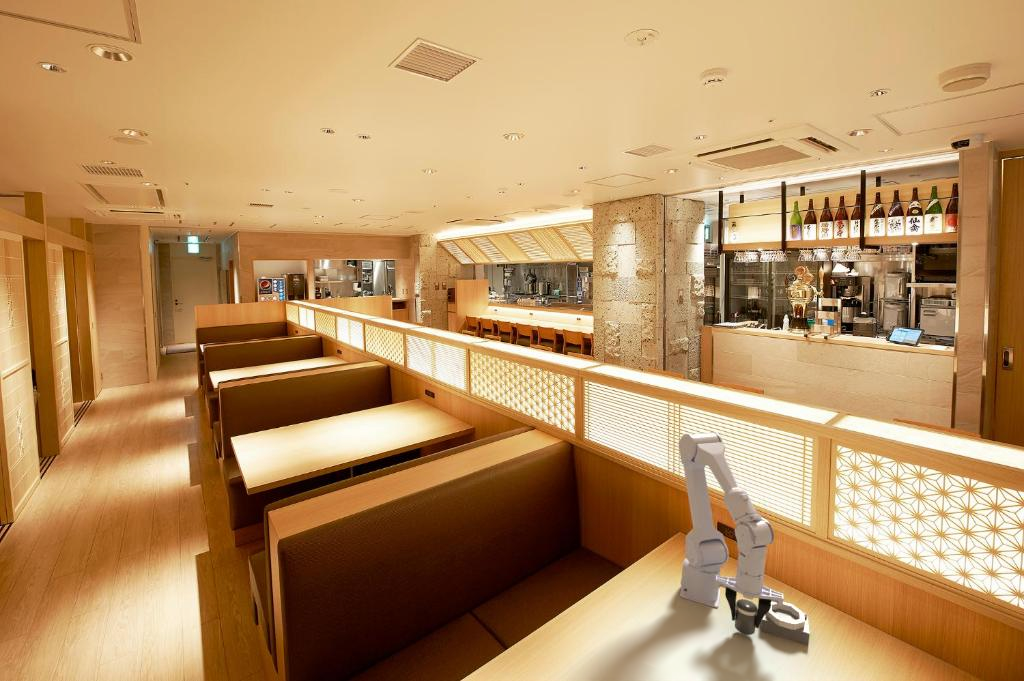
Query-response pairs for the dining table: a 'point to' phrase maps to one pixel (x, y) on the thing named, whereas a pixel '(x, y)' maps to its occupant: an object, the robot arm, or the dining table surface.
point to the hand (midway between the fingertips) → (745, 621)
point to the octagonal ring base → (786, 622)
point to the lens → (745, 616)
